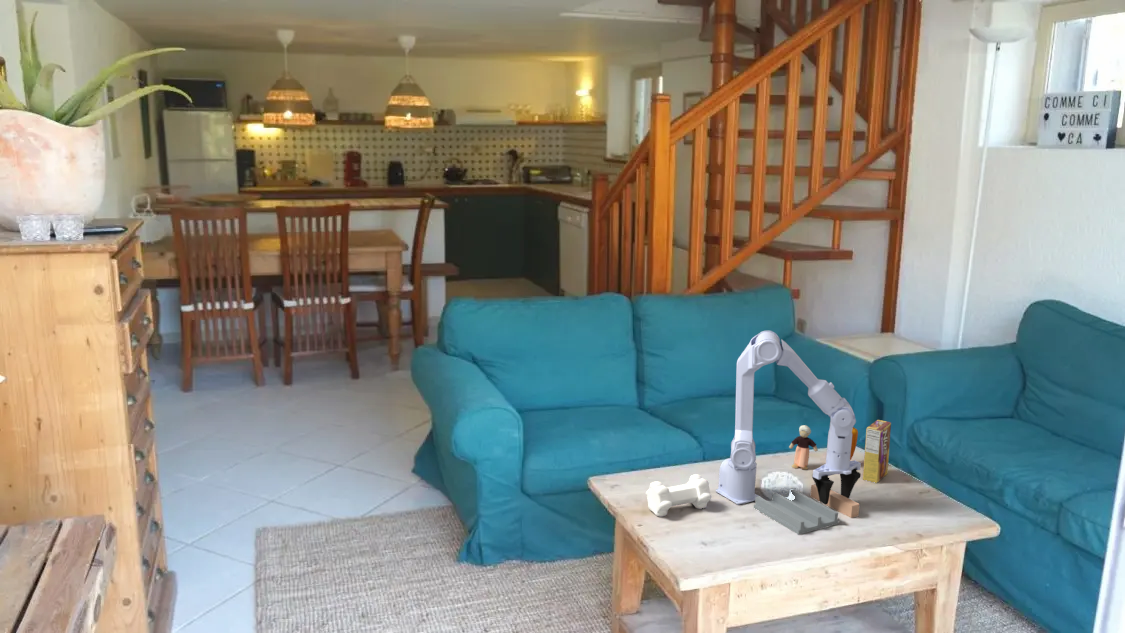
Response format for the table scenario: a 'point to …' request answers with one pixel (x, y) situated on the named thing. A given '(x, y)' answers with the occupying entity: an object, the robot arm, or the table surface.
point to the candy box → (876, 451)
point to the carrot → (853, 441)
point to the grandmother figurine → (802, 448)
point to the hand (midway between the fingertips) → (834, 500)
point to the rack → (797, 512)
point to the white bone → (678, 495)
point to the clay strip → (838, 502)
